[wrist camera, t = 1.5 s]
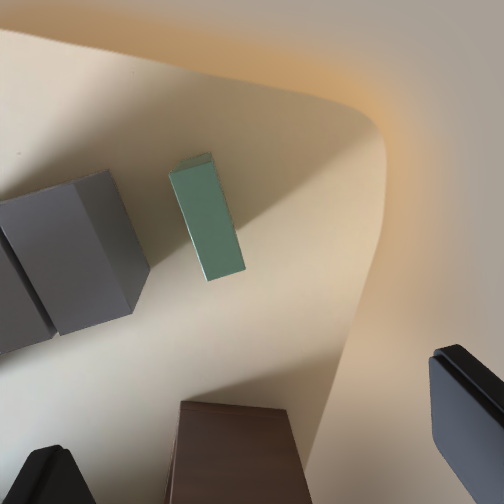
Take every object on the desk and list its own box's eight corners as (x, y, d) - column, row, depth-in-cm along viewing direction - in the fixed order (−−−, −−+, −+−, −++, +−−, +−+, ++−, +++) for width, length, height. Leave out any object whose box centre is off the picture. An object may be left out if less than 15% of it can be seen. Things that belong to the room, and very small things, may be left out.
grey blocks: (108, 168, 29) (73, 182, 21) (150, 270, 32) (132, 313, 24) (-21, 208, 28) (-103, 235, 21) (34, 305, 31) (-21, 361, 24)
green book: (210, 151, 29) (211, 160, 21) (235, 232, 31) (246, 269, 23) (179, 161, 29) (167, 173, 20) (207, 241, 31) (206, 282, 23)
